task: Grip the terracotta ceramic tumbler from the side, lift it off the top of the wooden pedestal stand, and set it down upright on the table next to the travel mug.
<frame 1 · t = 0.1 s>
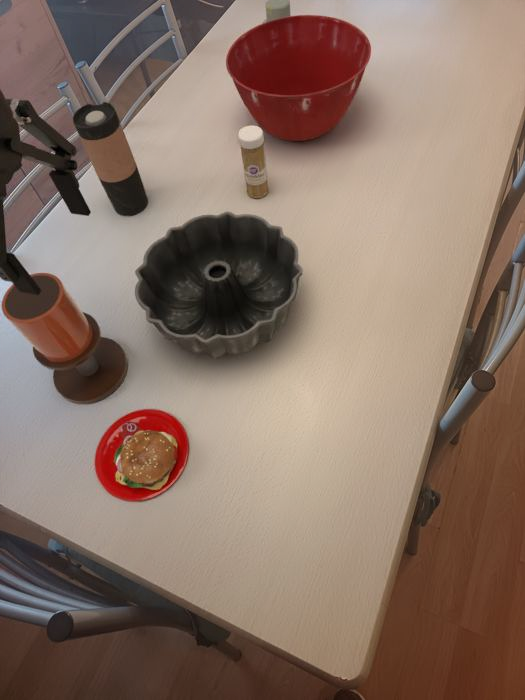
hand: (57, 250, 64), 24 cm above the table, tool pointing down, fingers open, 13 cm apart
hamburger: (142, 454, 74), on the table
tumbler: (65, 338, 73), point 10 cm above the table, touching wooden pedestal stand
mixing bowl: (300, 123, 111), on the table
air freshener: (280, 45, 129), on the table
wooden pedestal stand: (92, 371, 82), on the table
travel mug: (131, 204, 103), on the table
bundt pan: (227, 308, 86), on the table
sprinkles bottle: (258, 192, 101), on the table
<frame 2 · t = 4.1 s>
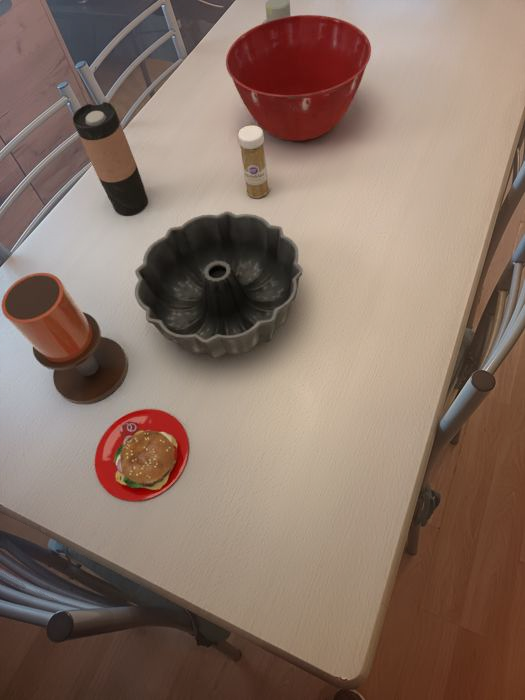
nothing on the table moved.
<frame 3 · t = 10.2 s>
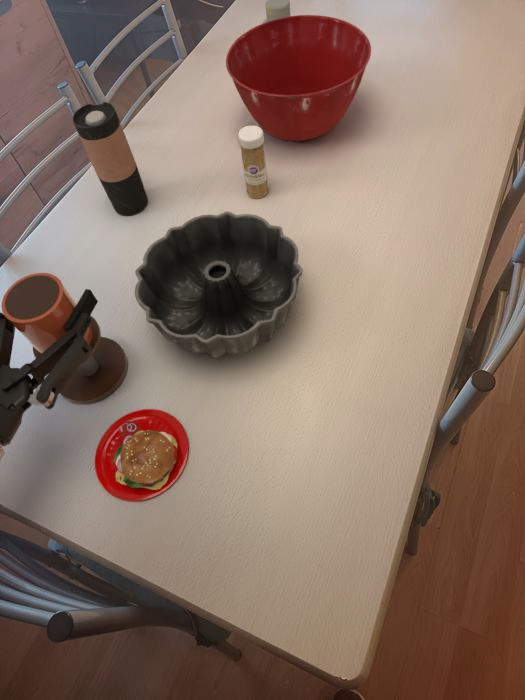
hand: (64, 290, 71), 15 cm above the table, tool horizontal, fingers closed on tumbler, 8 cm apart
tumbler: (65, 338, 73), point 10 cm above the table, touching gripper, wooden pedestal stand
everything else where it was.
when the fingers open (5 cm above the table, at t = 21.8 s): tumbler stays where it is, on the table.
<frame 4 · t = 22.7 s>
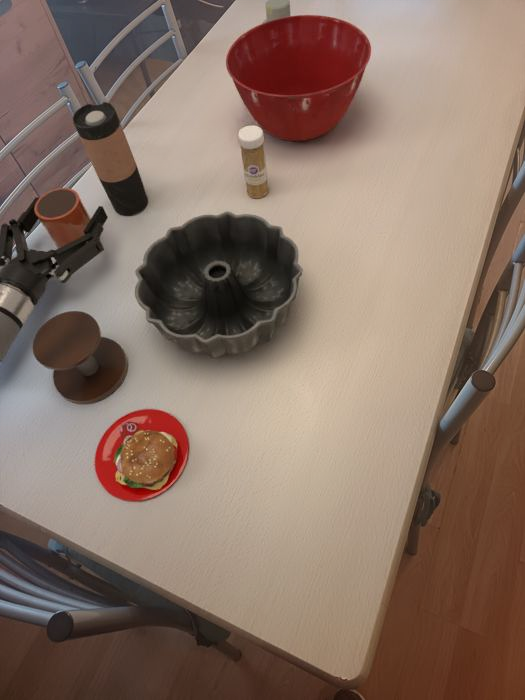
hand: (71, 207, 94), 6 cm above the table, tool horizontal, fingers open, 13 cm apart
tumbler: (79, 242, 98), on the table
everything else where it was.
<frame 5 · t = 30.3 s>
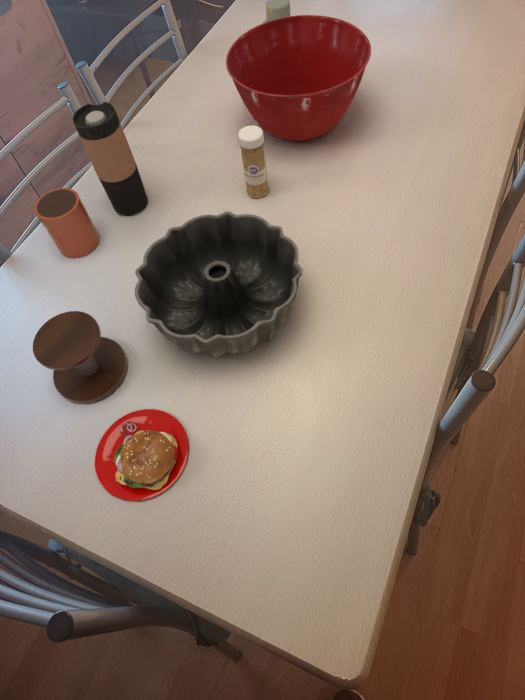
nothing on the table moved.
at the end: tumbler 13.4 cm from the travel mug (horizontally); tumbler on the table; tumbler tilted 0° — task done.
